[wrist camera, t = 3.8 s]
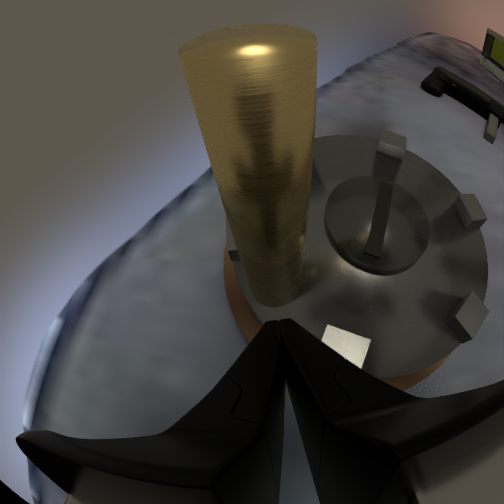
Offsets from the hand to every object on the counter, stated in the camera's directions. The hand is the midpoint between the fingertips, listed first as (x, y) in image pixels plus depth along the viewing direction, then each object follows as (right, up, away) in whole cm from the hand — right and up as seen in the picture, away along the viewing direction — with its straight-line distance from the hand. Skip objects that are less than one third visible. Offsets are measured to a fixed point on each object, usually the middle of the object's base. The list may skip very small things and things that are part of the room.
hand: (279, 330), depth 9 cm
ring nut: (+6, +3, +8) cm, 10 cm away
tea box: (+73, +54, +30) cm, 96 cm away
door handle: (+35, +25, +19) cm, 47 cm away
